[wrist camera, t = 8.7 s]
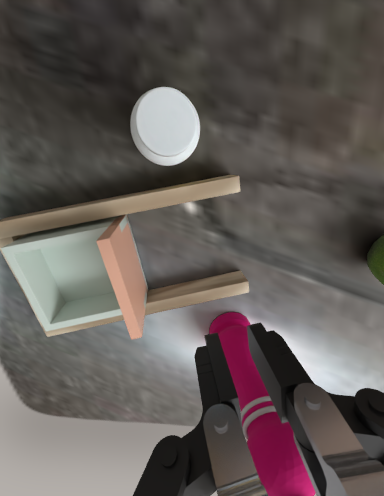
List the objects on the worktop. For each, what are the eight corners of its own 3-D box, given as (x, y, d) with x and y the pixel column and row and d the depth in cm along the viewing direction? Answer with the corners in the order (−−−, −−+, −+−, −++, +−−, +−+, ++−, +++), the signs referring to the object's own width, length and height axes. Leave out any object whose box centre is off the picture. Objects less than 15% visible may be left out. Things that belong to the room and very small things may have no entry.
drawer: (29, 232, 25) (-38, 267, 16) (126, 213, 25) (109, 238, 17) (64, 305, 28) (23, 364, 20) (148, 287, 29) (142, 337, 21)
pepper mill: (242, 349, 35) (331, 555, 17) (200, 344, 34) (245, 564, 15) (259, 312, 33) (382, 503, 14) (213, 305, 31) (287, 507, 13)
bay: (6, 217, 24) (-14, 224, 21) (230, 174, 25) (238, 175, 22) (58, 320, 29) (47, 336, 26) (241, 280, 31) (249, 292, 28)
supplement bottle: (133, 112, 22) (112, 77, 13) (185, 104, 22) (200, 64, 13) (145, 169, 24) (135, 172, 15) (193, 160, 24) (211, 158, 15)
